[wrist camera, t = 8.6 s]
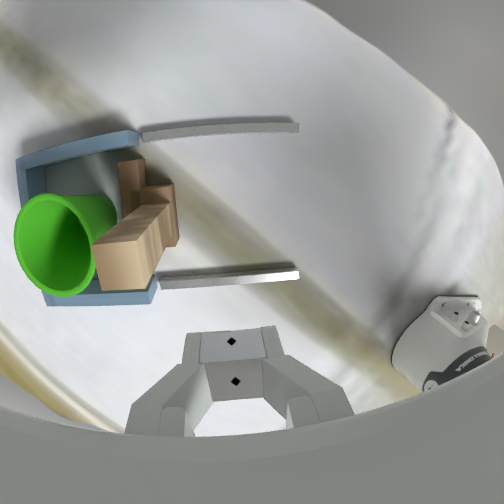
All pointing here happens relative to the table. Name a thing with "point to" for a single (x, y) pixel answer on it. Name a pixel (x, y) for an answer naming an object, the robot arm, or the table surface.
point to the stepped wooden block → (136, 231)
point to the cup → (61, 239)
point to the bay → (34, 184)
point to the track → (230, 277)
